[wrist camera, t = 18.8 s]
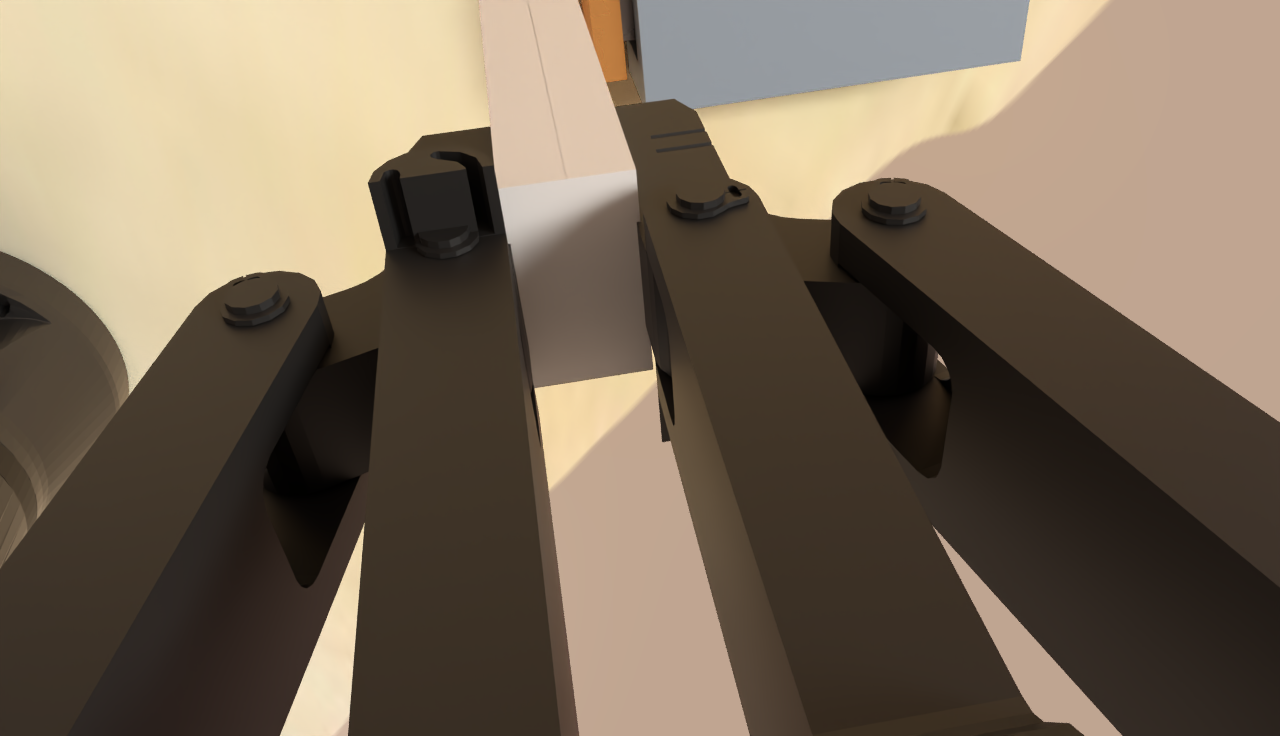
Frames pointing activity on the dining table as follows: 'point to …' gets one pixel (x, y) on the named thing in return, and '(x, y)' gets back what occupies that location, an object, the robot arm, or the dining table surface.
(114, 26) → the dining table surface
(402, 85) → the dining table surface
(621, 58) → the lock pin
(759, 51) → the dock block
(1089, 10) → the dining table surface
